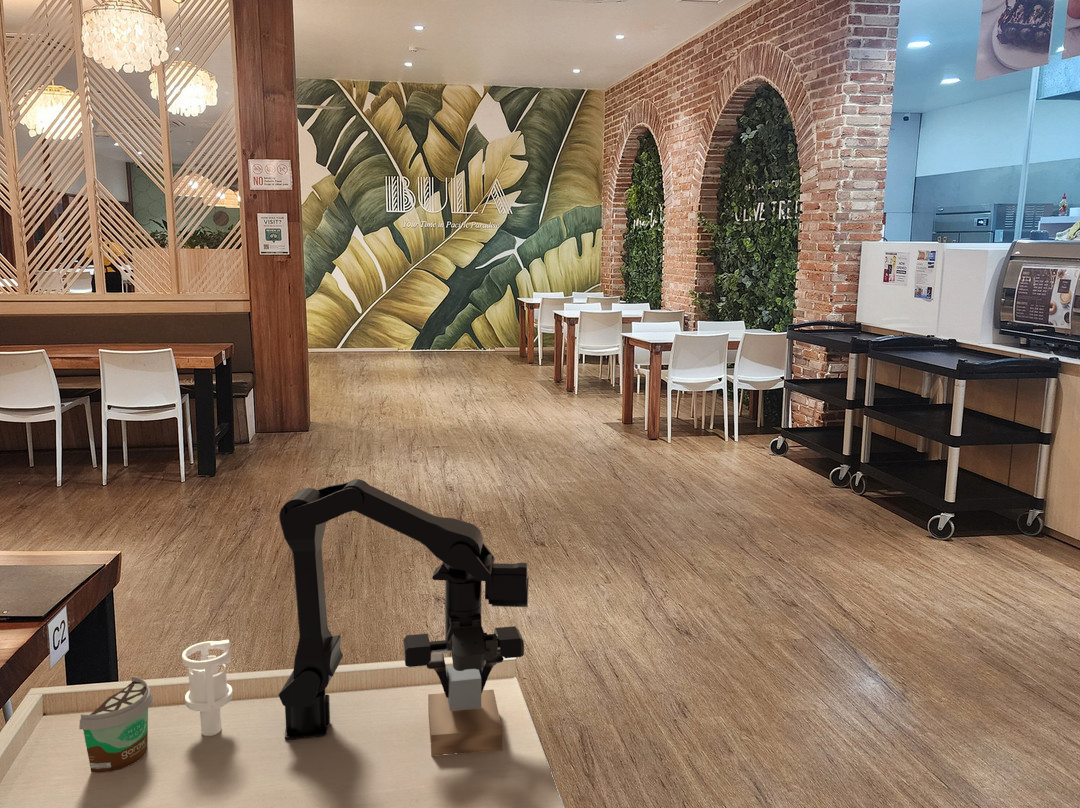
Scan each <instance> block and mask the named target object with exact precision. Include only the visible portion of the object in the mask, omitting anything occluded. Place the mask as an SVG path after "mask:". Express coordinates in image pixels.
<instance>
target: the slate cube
mask: <svg viewBox="0 0 1080 808" xmlns="http://www.w3.org/2000/svg"><path fill="white" fill-rule="evenodd" d="M446 673H447V680H448V687H449V697H448V698H447V699H448V704H449V708H450V711H451V710H461V709H470V708H480V707H481V676H480V672H479V669H467V670H464V671H457V670H455V669H454V667H453V664H452V665H446Z"/></svg>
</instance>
